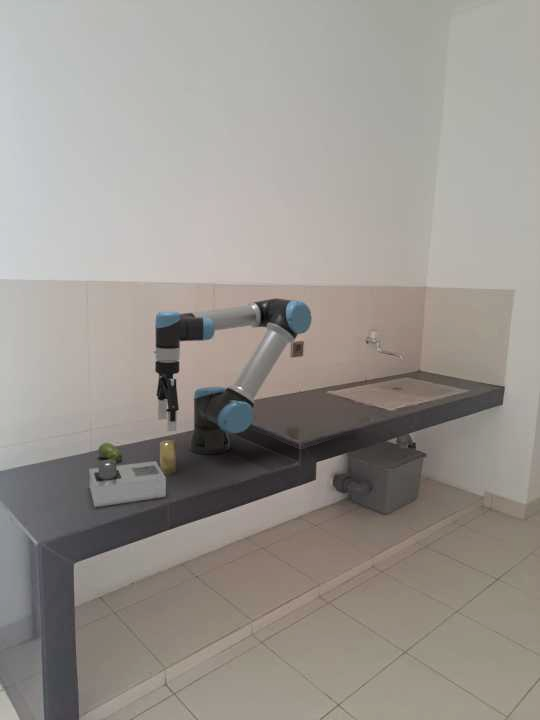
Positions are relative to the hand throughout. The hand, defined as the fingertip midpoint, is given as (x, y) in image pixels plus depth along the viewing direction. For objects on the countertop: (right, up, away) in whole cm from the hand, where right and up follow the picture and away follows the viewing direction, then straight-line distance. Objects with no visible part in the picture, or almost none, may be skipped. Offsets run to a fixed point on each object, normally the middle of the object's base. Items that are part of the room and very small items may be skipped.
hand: (166, 424), depth 171 cm
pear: (-22, -14, +12) cm, 29 cm away
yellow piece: (0, -16, +3) cm, 16 cm away
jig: (-9, -18, -14) cm, 25 cm away
